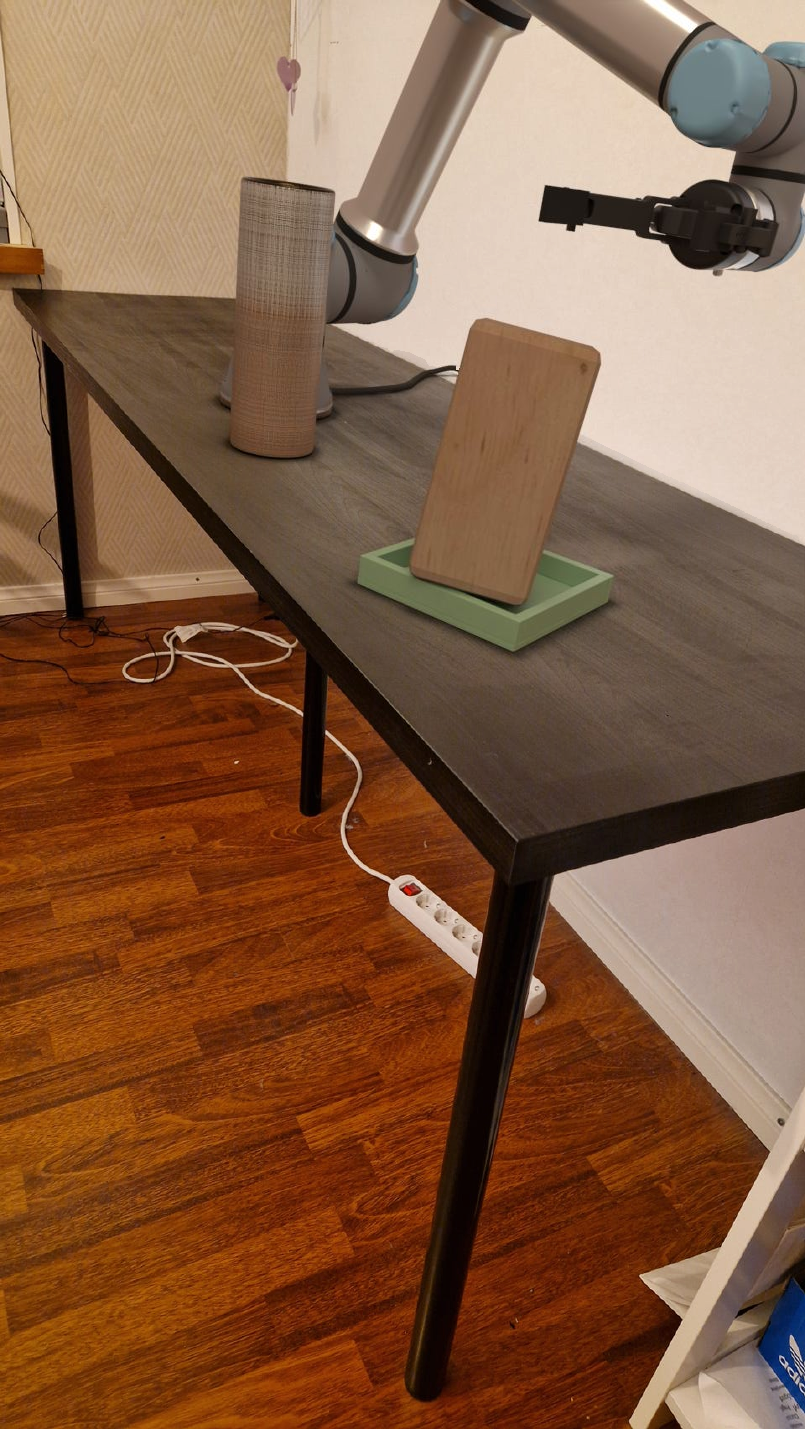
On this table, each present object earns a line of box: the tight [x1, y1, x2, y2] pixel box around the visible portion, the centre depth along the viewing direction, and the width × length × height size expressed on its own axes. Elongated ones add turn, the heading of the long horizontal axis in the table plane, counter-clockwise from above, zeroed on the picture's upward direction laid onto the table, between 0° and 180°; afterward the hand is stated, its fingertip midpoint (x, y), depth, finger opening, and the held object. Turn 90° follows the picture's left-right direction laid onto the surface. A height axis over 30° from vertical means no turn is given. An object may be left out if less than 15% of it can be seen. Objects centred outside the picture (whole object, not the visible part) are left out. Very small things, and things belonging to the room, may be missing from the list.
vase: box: [229, 176, 336, 460], centre depth 108 cm, size 10×10×28 cm
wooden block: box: [409, 317, 602, 606], centre depth 77 cm, size 10×10×20 cm
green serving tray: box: [356, 537, 615, 653], centre depth 84 cm, size 16×16×3 cm
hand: (618, 216), depth 76 cm, fingers open, 13 cm apart
